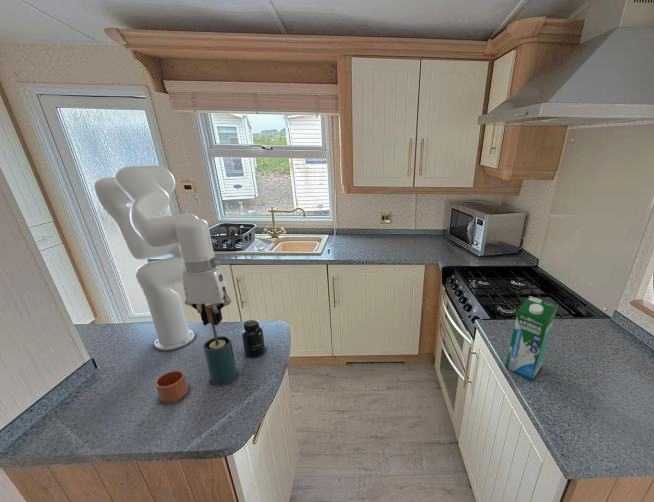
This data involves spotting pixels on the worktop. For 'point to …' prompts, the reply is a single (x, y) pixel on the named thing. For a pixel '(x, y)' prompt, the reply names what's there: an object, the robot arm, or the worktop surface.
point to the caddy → (171, 386)
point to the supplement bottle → (253, 338)
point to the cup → (220, 361)
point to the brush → (217, 343)
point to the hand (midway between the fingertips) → (212, 322)
